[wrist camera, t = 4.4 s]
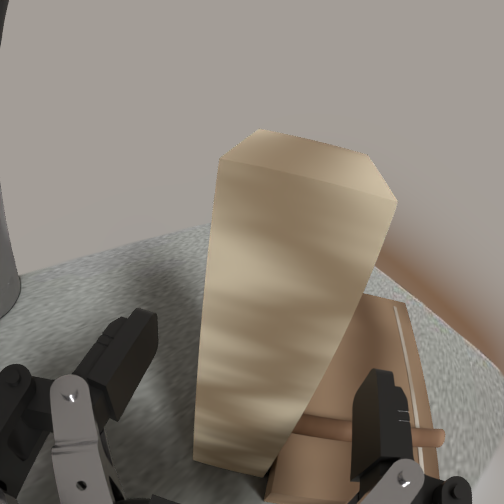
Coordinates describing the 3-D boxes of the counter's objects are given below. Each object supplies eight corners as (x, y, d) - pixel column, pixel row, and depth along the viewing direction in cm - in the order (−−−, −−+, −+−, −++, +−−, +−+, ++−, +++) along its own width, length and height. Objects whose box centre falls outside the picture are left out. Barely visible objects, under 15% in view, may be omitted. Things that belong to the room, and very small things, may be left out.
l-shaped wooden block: (192, 459, 15) (219, 158, 7) (215, 394, 19) (259, 128, 11) (417, 490, 14) (608, 287, 6) (412, 429, 18) (550, 227, 10)
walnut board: (263, 501, 13) (271, 491, 12) (298, 296, 30) (304, 278, 29) (422, 509, 12) (441, 499, 11) (396, 318, 29) (405, 302, 28)
